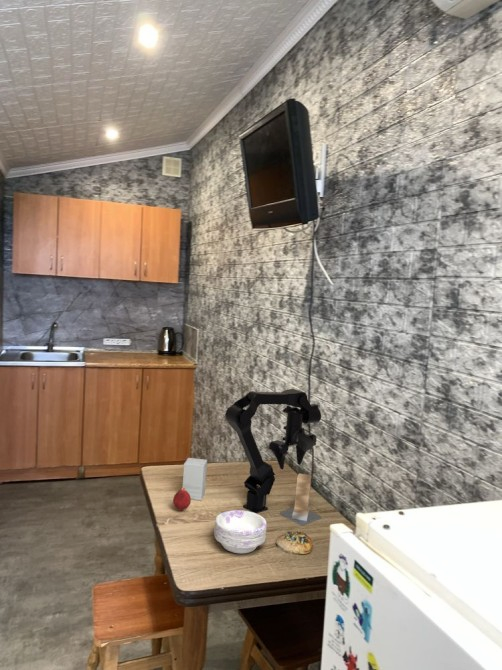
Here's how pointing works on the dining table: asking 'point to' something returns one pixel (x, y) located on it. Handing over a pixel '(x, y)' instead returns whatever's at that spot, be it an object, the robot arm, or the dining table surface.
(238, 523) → the paper bowls
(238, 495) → the dining table surface
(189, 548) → the dining table surface
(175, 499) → the red pointed oval piece
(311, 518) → the steel plate
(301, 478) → the block
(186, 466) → the supplement box
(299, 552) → the bread roll
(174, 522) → the dining table surface
